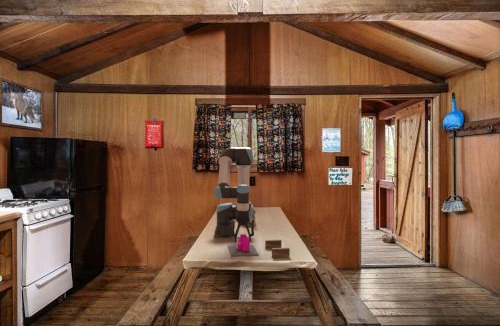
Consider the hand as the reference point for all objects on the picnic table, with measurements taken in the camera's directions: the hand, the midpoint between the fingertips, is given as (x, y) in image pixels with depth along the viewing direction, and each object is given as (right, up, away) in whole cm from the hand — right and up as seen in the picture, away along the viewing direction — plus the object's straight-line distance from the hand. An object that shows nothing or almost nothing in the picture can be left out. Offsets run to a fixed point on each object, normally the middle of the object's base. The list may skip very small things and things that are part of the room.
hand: (242, 247), depth 200 cm
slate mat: (0, -2, 0) cm, 2 cm away
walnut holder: (+21, -2, -3) cm, 21 cm away
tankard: (+4, -1, +77) cm, 77 cm away
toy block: (0, -1, 0) cm, 1 cm away
